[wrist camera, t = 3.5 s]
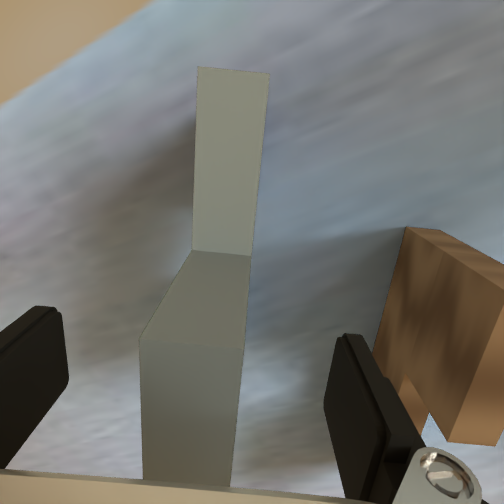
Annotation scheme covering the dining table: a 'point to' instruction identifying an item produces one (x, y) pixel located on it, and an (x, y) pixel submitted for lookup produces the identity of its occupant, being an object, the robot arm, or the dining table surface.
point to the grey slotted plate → (227, 156)
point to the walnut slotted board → (446, 336)
